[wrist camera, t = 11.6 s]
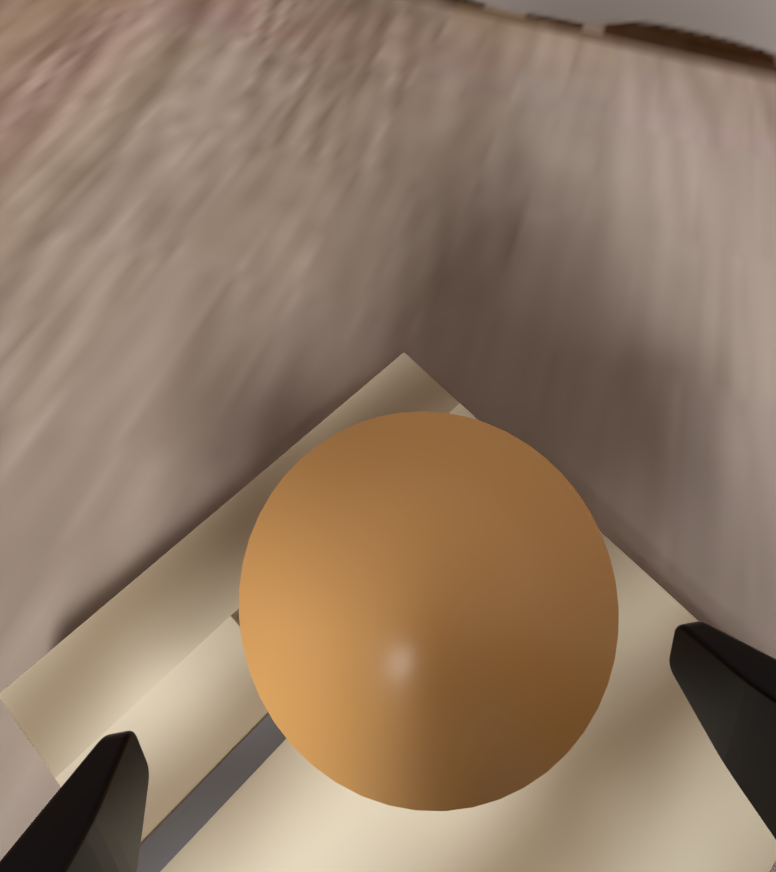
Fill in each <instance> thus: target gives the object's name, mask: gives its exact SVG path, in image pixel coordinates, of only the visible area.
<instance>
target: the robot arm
mask: <svg viewBox="0 0 776 872" xmlns="http://www.w3.org/2000/svg"><path fill="white" fill-rule="evenodd" d="M669 664H670V668H671V671H672V673H673V675H674V677H675V679H676V681H677V683H678V684H679V686H680V688H681V690H682V691H683V693H684V695H685V697H686V698H687V700H688V702H689V704H690V706H691V707H692V709H693V711H694V713H695V714H696V716H697V718H698V720H699V721H700V723H701V725H702V727H703V729H704V730H705V732H706V734H707V736H708V737H709V739H710V741H711V743H712V744H713V746H714V748H715V750H716V751H717V753H718V755H719V756H720V758H721V760H722V761H723V763H724V764H725V766H726V768H727V769H728V771H729V772H730V774H731V775H732V777H733V778H734V780H735V781H736V783H737V784H738V785H739V787H740V788H741V790H742V791H743V793H744V794H745V796H746V797H747V799H748V800H749V802H750V803H751V804H752V806H753V807H754V809H755V810H756V812H757V813H758V815H759V816H760V818H761V819H762V820H763V822H764V823H765V825H766V826H767V828H768V829H769V831H770V832H771V834H772V835H773V837H774V838H775V839H776V659H774V658H772V657H770V656H768V655H766V654H765V653H763V652H761V651H759V650H757V649H755V648H753V647H751V646H749V645H747V644H745V643H743V642H741V641H739V640H737V639H735V638H733V637H731V636H729V635H727V634H726V633H724V632H722V631H720V630H718V629H716V628H714V627H712V626H710V625H708V624H706V623H703V622H691V623H686V624H681V625H678V626H677V627H676V629H675V631H674V636H673V641H672V646H671V651H670V657H669ZM148 783H149V768H148V764H147V761H146V758H145V756H144V753H143V751H142V748H141V746H140V743H139V741H138V738H137V736H136V734H135V733H134V732H133V731H124V732H119V733H113V734H109V735H106V736H104V737H103V738H102V739H101V740H100V741H99V742H98V743H97V744H96V745H95V747H94V748H93V749H92V750H91V751H90V753H89V754H88V755H87V756H86V758H85V759H84V760H83V761H82V762H81V764H80V765H79V766H78V767H77V769H76V770H75V771H74V772H73V773H72V775H71V776H70V777H69V778H68V779H67V781H66V782H65V783H64V784H63V786H62V787H61V788H60V789H59V790H58V792H57V793H56V794H55V795H54V797H53V798H52V799H51V800H50V801H49V803H48V804H47V805H46V806H45V807H44V809H43V810H42V811H41V812H40V814H39V815H38V816H37V817H36V818H35V820H34V821H33V822H32V823H31V824H30V826H29V827H28V828H27V829H26V831H25V832H24V833H23V834H22V835H21V837H20V838H19V839H18V840H17V842H16V843H15V844H14V845H13V846H12V848H11V849H10V850H9V851H8V852H7V854H6V855H5V856H4V857H3V859H2V860H1V861H0V872H137V869H138V861H139V853H140V845H141V838H142V830H143V822H144V814H145V807H146V799H147V791H148Z"/></svg>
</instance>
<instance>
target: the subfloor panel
mask: <svg viewBox="0 0 776 872" xmlns="http://www.w3.org/2000/svg"><path fill="white" fill-rule="evenodd" d="M419 411H426V412H442V413H449V414H454V415H460V416H465V417H469V418H472V419H475V420H478V419H477V418H476V417H475V416H473V415H472V414H471V413H470V412H469V411H468V410H467V409H466V408H465V407H464V406H463V405H461V404H460V403H459V402H458V401H457V400H456V399H455V398H454V397H453V396H452V395H450V394H449V393H448V392H447V391H446V390H445V389H444V388H443V387H442V386H441V385H440V384H438V383H437V382H436V381H435V380H434V379H433V378H432V377H431V376H430V375H429V374H427V373H426V372H425V371H424V370H423V369H422V368H421V367H420V366H419V365H418V364H417V363H415V362H414V361H413V360H412V359H411V358H410V357H409V356H408V355H407V354H406V353H404V352H403V353H402V354H401V355H400V356H399V357H398V358H396V359H395V360H394V361H393V362H392V363H390V364H389V365H388V366H387V367H386V368H385V369H383V370H382V371H381V372H380V373H379V374H377V375H376V376H375V377H374V378H373V379H372V380H370V381H369V382H368V383H367V384H366V385H364V386H363V387H362V388H361V389H360V390H358V391H357V392H356V393H355V394H354V395H353V396H351V397H350V398H349V399H348V400H347V401H345V402H344V403H343V404H342V405H341V406H340V407H338V408H337V409H336V410H335V411H334V412H332V413H331V414H330V415H329V416H328V417H326V418H325V419H324V420H323V421H322V422H321V423H319V424H318V425H317V426H316V427H315V428H313V429H312V430H311V431H310V432H309V433H308V434H306V435H305V436H304V437H303V438H302V439H300V440H299V441H298V442H297V443H296V444H295V445H293V446H292V447H291V448H290V449H289V450H287V451H286V452H285V453H284V454H283V455H281V456H280V457H279V458H278V459H277V460H276V461H274V462H273V463H272V464H271V465H270V466H268V467H267V468H266V469H265V470H264V471H263V472H261V473H260V474H259V475H258V476H257V477H255V478H254V479H253V480H252V481H251V482H249V483H248V484H247V485H246V486H245V487H244V488H242V489H241V490H240V491H239V492H238V493H236V494H235V495H234V496H233V497H232V498H231V499H229V500H228V501H227V502H226V503H225V504H223V505H222V506H221V507H220V508H219V509H217V510H216V511H215V512H214V513H213V514H212V515H210V516H209V517H208V518H207V519H206V520H204V521H203V522H202V523H201V524H200V525H199V526H197V527H196V528H195V529H194V530H193V531H191V532H190V533H189V534H188V535H187V536H186V537H184V538H183V539H182V540H181V541H180V542H178V543H177V544H176V545H175V546H174V547H172V548H171V549H170V550H169V551H168V552H167V553H165V554H164V555H163V556H162V557H161V558H159V559H158V560H157V561H156V562H155V563H154V564H152V565H151V566H150V567H149V568H148V569H146V570H145V571H144V572H143V573H142V574H140V575H139V576H138V577H137V578H136V579H135V580H133V581H132V582H131V583H130V584H129V585H127V586H126V587H125V588H124V589H123V590H122V591H120V592H119V593H118V594H117V595H116V596H114V597H113V598H112V599H111V600H110V601H109V602H107V603H106V604H105V605H104V606H103V607H101V608H100V609H99V610H98V611H97V612H95V613H94V614H93V615H92V616H91V617H90V618H88V619H87V620H86V621H85V622H84V623H82V624H81V625H80V626H79V627H78V628H77V629H75V630H74V631H73V632H72V633H71V634H69V635H68V636H67V637H66V638H65V639H63V640H62V641H61V642H60V643H59V644H58V645H56V646H55V647H54V648H53V649H52V650H50V651H49V652H48V653H47V654H46V655H45V656H43V657H42V658H41V659H40V660H39V661H37V662H36V663H35V664H34V665H33V666H31V667H30V668H29V669H28V670H27V671H26V672H24V673H23V674H22V675H21V676H20V677H18V678H17V679H16V680H15V681H14V682H13V683H11V684H10V685H9V686H8V687H7V688H5V689H4V690H3V691H2V692H1V693H0V699H1V701H2V702H3V704H4V705H5V707H6V708H7V709H8V711H9V712H10V714H11V715H12V717H13V718H14V720H15V721H16V722H17V724H18V725H19V727H20V728H21V730H22V731H23V733H24V734H25V735H26V737H27V738H28V740H29V741H30V743H31V744H32V746H33V747H34V748H35V750H36V751H37V753H38V754H39V756H40V757H41V759H42V760H43V761H44V763H45V764H46V766H47V767H48V769H49V770H50V772H51V773H52V774H53V776H54V777H55V779H56V780H57V782H58V783H59V785H60V786H61V787H62V786H63V784H64V783H65V782H66V781H67V779H68V778H69V777H70V776H71V775H72V773H73V772H74V771H75V770H76V769H77V767H78V766H79V765H80V764H81V762H82V761H83V760H84V759H85V758H86V756H87V755H88V754H89V753H90V751H91V750H92V749H93V748H94V747H95V745H96V744H97V743H98V742H99V741H100V740H101V739H102V738H103V737H104V736H106V735H109V734H113V733H119V732H124V731H133V732H134V733H135V734H136V736H137V738H138V741H139V743H140V746H141V748H142V751H143V753H144V756H145V758H146V761H147V764H148V768H149V783H148V791H147V799H146V807H145V814H144V822H143V830H142V838H141V845H140V853H139V861H138V869H137V872H769V871H770V870H771V868H772V866H773V864H774V862H775V861H776V839H775V838H774V837H773V835H772V834H771V832H770V831H769V829H768V828H767V826H766V825H765V823H764V822H763V820H762V819H761V818H760V816H759V815H758V813H757V812H756V810H755V809H754V807H753V806H752V804H751V803H750V802H749V800H748V799H747V797H746V796H745V794H744V793H743V791H742V790H741V788H740V787H739V785H738V784H737V783H736V781H735V780H734V778H733V777H732V775H731V774H730V772H729V771H728V769H727V768H726V766H725V764H724V763H723V761H722V760H721V758H720V756H719V755H718V753H717V751H716V750H715V748H714V746H713V744H712V743H711V741H710V739H709V737H708V736H707V734H706V732H705V730H704V729H703V727H702V725H701V723H700V721H699V720H698V718H697V716H696V714H695V713H694V711H693V709H692V707H691V706H690V704H689V702H688V700H687V698H686V697H685V695H684V693H683V691H682V690H681V688H680V686H679V684H678V683H677V681H676V679H675V677H674V675H673V673H672V671H671V668H670V664H669V657H670V651H671V646H672V641H673V636H674V631H675V629H676V627H677V626H678V625H681V624H686V623H691V622H699V621H698V620H697V619H696V618H695V617H694V616H693V615H691V614H690V613H689V612H688V611H687V610H686V609H685V608H684V607H683V606H682V605H680V604H679V603H678V602H677V601H676V600H675V599H674V598H673V597H672V596H671V595H670V594H668V593H667V592H666V591H665V590H664V589H663V588H662V587H661V586H660V585H659V584H657V583H656V582H655V581H654V580H653V579H652V578H651V577H650V576H649V575H648V574H647V573H645V572H644V571H643V570H642V569H641V568H640V567H639V566H638V565H637V564H636V563H634V562H633V561H632V560H631V559H630V558H629V557H628V556H627V555H626V554H625V553H624V552H622V551H621V550H620V549H619V548H618V547H617V546H616V545H615V544H614V543H613V542H611V541H610V540H609V539H608V538H607V537H606V536H605V535H604V534H603V533H602V532H601V531H600V532H601V534H602V537H603V539H604V542H605V545H606V548H607V550H608V553H609V556H610V560H611V564H612V568H613V572H614V576H615V580H616V588H617V597H618V606H619V624H618V640H617V647H616V655H615V660H614V664H613V668H612V672H611V675H610V679H609V683H608V686H607V688H606V691H605V693H604V695H603V698H602V700H601V703H600V705H599V707H598V710H597V711H596V713H595V715H594V716H593V718H592V720H591V721H590V723H589V725H588V726H587V728H586V730H585V732H584V733H583V734H582V735H581V737H580V738H579V739H578V741H577V742H576V743H575V744H574V746H573V747H572V748H571V749H570V751H569V752H568V753H567V754H566V755H565V756H564V757H563V758H562V759H561V760H560V761H558V762H557V763H556V764H555V765H554V766H553V767H552V768H551V769H550V770H549V771H548V772H547V773H545V774H544V775H542V776H541V777H539V778H538V779H536V780H535V781H533V782H532V783H530V784H529V785H527V786H526V787H525V788H522V789H520V790H518V791H516V792H514V793H512V794H510V795H508V796H506V797H504V798H502V799H499V800H496V801H493V802H489V803H486V804H483V805H479V806H476V807H472V808H465V809H457V810H450V811H419V810H411V809H406V808H400V807H395V806H390V805H386V804H383V803H380V802H377V801H375V800H372V799H369V798H366V797H363V796H360V795H359V794H357V793H355V792H353V791H351V790H349V789H347V788H345V787H343V786H342V785H340V784H338V783H336V782H334V781H333V780H332V779H330V778H329V777H328V776H326V775H325V774H324V773H322V772H321V771H319V770H318V769H317V768H315V767H314V766H313V765H311V764H310V763H309V762H308V761H307V760H306V759H305V758H304V757H303V756H302V755H301V754H300V753H299V752H298V751H297V750H296V749H295V748H294V747H293V746H292V745H291V744H290V742H289V741H288V740H287V738H286V737H285V736H284V734H283V733H282V732H281V731H280V729H279V728H278V727H277V725H276V724H275V723H274V721H273V720H272V718H271V716H270V714H269V712H268V711H267V709H266V707H265V705H264V704H263V702H262V700H261V698H260V697H259V694H258V692H257V689H256V687H255V684H254V682H253V679H252V677H251V674H250V672H249V668H248V664H247V661H246V657H245V653H244V649H243V645H242V638H241V630H240V622H239V586H240V579H241V572H242V564H243V560H244V556H245V553H246V549H247V545H248V542H249V538H250V536H251V533H252V531H253V528H254V526H255V523H256V521H257V519H258V516H259V514H260V512H261V511H262V509H263V507H264V505H265V504H266V502H267V500H268V498H269V497H270V495H271V493H272V492H273V491H274V489H275V488H276V487H277V485H278V484H279V483H280V481H281V480H282V479H283V477H284V476H285V475H286V474H287V473H288V472H289V471H290V470H291V469H292V467H293V466H294V465H295V464H296V463H297V462H298V461H299V460H300V459H301V458H302V457H304V456H305V455H306V454H307V453H309V452H310V451H311V450H312V449H314V448H315V447H316V446H317V445H319V444H320V443H322V442H323V441H325V440H326V439H328V438H330V437H331V436H333V435H335V434H336V433H338V432H340V431H342V430H344V429H346V428H349V427H351V426H353V425H355V424H357V423H360V422H363V421H367V420H370V419H373V418H376V417H379V416H385V415H390V414H396V413H402V412H419Z"/></svg>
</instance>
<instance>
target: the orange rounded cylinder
mask: <svg viewBox="0 0 776 872" xmlns="http://www.w3.org/2000/svg"><path fill="white" fill-rule="evenodd" d="M239 622H240V630H241V638H242V645H243V649H244V653H245V657H246V661H247V664H248V668H249V672H250V674H251V677H252V679H253V682H254V684H255V687H256V689H257V692H258V694H259V697H260V698H261V700H262V702H263V704H264V705H265V707H266V709H267V711H268V712H269V714H270V716H271V718H272V720H273V721H274V723H275V724H276V725H277V727H278V728H279V729H280V731H281V732H282V733H283V734H284V736H285V737H286V738H287V740H288V741H289V742H290V744H291V745H292V746H293V747H294V748H295V749H296V750H297V751H298V752H299V753H300V754H301V755H302V756H303V757H304V758H305V759H306V760H307V761H308V762H309V763H310V764H311V765H313V766H314V767H315V768H317V769H318V770H319V771H321V772H322V773H324V774H325V775H326V776H328V777H329V778H330V779H332V780H333V781H334V782H336V783H338V784H340V785H342V786H343V787H345V788H347V789H349V790H351V791H353V792H355V793H357V794H359V795H360V796H363V797H366V798H369V799H372V800H375V801H377V802H380V803H383V804H386V805H390V806H395V807H400V808H406V809H411V810H419V811H450V810H457V809H465V808H472V807H476V806H479V805H483V804H486V803H489V802H493V801H496V800H499V799H502V798H504V797H506V796H508V795H510V794H512V793H514V792H516V791H518V790H520V789H522V788H525V787H526V786H527V785H529V784H530V783H532V782H533V781H535V780H536V779H538V778H539V777H541V776H542V775H544V774H545V773H547V772H548V771H549V770H550V769H551V768H552V767H553V766H554V765H555V764H556V763H557V762H558V761H560V760H561V759H562V758H563V757H564V756H565V755H566V754H567V753H568V752H569V751H570V749H571V748H572V747H573V746H574V744H575V743H576V742H577V741H578V739H579V738H580V737H581V735H582V734H583V733H584V732H585V730H586V728H587V726H588V725H589V723H590V721H591V720H592V718H593V716H594V715H595V713H596V711H597V710H598V707H599V705H600V703H601V700H602V698H603V695H604V693H605V691H606V688H607V686H608V683H609V679H610V675H611V672H612V668H613V664H614V660H615V655H616V647H617V640H618V624H619V606H618V597H617V588H616V580H615V576H614V572H613V568H612V564H611V560H610V556H609V553H608V550H607V548H606V545H605V542H604V539H603V537H602V534H601V532H600V530H599V528H598V526H597V524H596V522H595V520H594V518H593V516H592V514H591V512H590V510H589V509H588V507H587V506H586V504H585V503H584V501H583V500H582V498H581V497H580V495H579V494H578V492H577V491H576V490H575V488H574V487H573V486H572V485H571V484H570V482H569V481H568V480H567V479H566V478H565V476H564V475H563V474H562V473H561V472H560V471H559V470H558V469H557V468H556V467H555V466H554V465H553V464H552V463H550V462H549V461H548V460H547V459H546V458H545V457H544V456H543V455H541V454H540V453H539V452H537V451H536V450H535V449H533V448H532V447H531V446H529V445H528V444H527V443H525V442H523V441H522V440H520V439H518V438H517V437H515V436H513V435H511V434H510V433H508V432H506V431H504V430H501V429H499V428H497V427H495V426H492V425H490V424H488V423H485V422H482V421H479V420H475V419H472V418H469V417H465V416H460V415H454V414H449V413H442V412H426V411H419V412H402V413H396V414H390V415H385V416H379V417H376V418H373V419H370V420H367V421H363V422H360V423H357V424H355V425H353V426H351V427H349V428H346V429H344V430H342V431H340V432H338V433H336V434H335V435H333V436H331V437H330V438H328V439H326V440H325V441H323V442H322V443H320V444H319V445H317V446H316V447H315V448H314V449H312V450H311V451H310V452H309V453H307V454H306V455H305V456H304V457H302V458H301V459H300V460H299V461H298V462H297V463H296V464H295V465H294V466H293V467H292V469H291V470H290V471H289V472H288V473H287V474H286V475H285V476H284V477H283V479H282V480H281V481H280V483H279V484H278V485H277V487H276V488H275V489H274V491H273V492H272V493H271V495H270V497H269V498H268V500H267V502H266V504H265V505H264V507H263V509H262V511H261V512H260V514H259V516H258V519H257V521H256V523H255V526H254V528H253V531H252V533H251V536H250V538H249V542H248V545H247V549H246V553H245V556H244V560H243V564H242V572H241V579H240V586H239Z"/></svg>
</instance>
